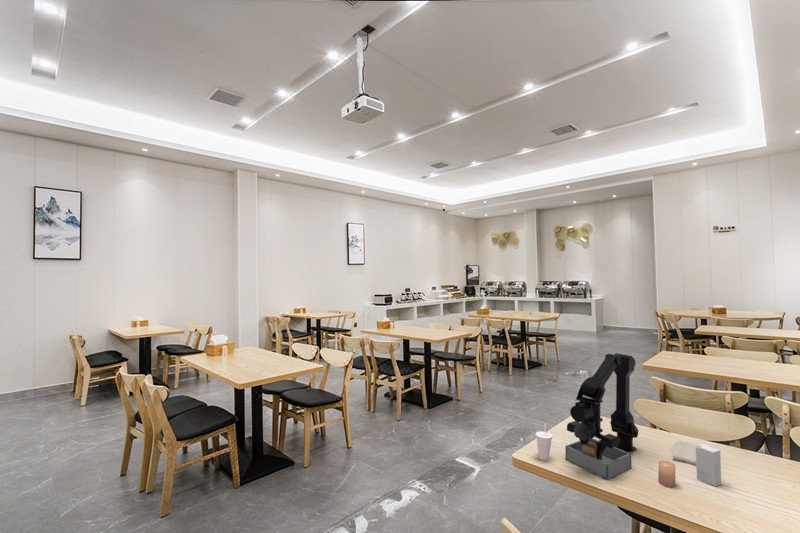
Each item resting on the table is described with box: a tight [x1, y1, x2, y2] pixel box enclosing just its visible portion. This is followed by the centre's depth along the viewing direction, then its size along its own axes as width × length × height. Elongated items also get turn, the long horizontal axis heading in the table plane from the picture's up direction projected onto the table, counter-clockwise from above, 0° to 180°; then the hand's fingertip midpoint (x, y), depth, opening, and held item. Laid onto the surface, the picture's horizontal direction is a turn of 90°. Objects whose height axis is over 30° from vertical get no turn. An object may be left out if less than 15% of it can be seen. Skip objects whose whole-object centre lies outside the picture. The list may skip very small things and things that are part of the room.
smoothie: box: [535, 423, 553, 462], centre depth 161 cm, size 6×6×14 cm
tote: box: [565, 437, 632, 481], centre depth 156 cm, size 15×17×6 cm
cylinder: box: [657, 460, 676, 489], centre depth 143 cm, size 5×5×7 cm
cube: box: [582, 442, 602, 460], centre depth 155 cm, size 5×5×5 cm
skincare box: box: [696, 443, 722, 487], centre depth 144 cm, size 6×4×12 cm
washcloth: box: [672, 440, 699, 467], centre depth 162 cm, size 12×18×3 cm, turn 141°
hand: (592, 455), depth 155 cm, fingers closed on cube, 5 cm apart
